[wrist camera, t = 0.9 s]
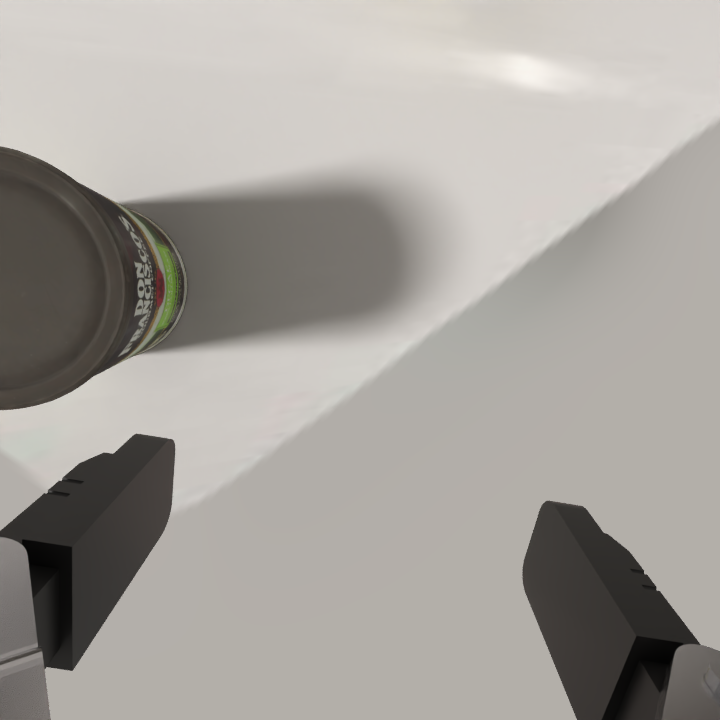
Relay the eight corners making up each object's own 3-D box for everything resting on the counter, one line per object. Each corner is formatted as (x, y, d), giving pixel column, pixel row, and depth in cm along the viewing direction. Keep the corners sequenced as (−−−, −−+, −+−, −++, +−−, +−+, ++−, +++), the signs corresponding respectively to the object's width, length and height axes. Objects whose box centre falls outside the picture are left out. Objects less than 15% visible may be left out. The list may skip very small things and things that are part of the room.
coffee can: (188, 209, 33) (128, 157, 19) (187, 360, 34) (130, 413, 21) (18, 194, 31) (-182, 125, 17) (24, 355, 33) (-156, 408, 19)
